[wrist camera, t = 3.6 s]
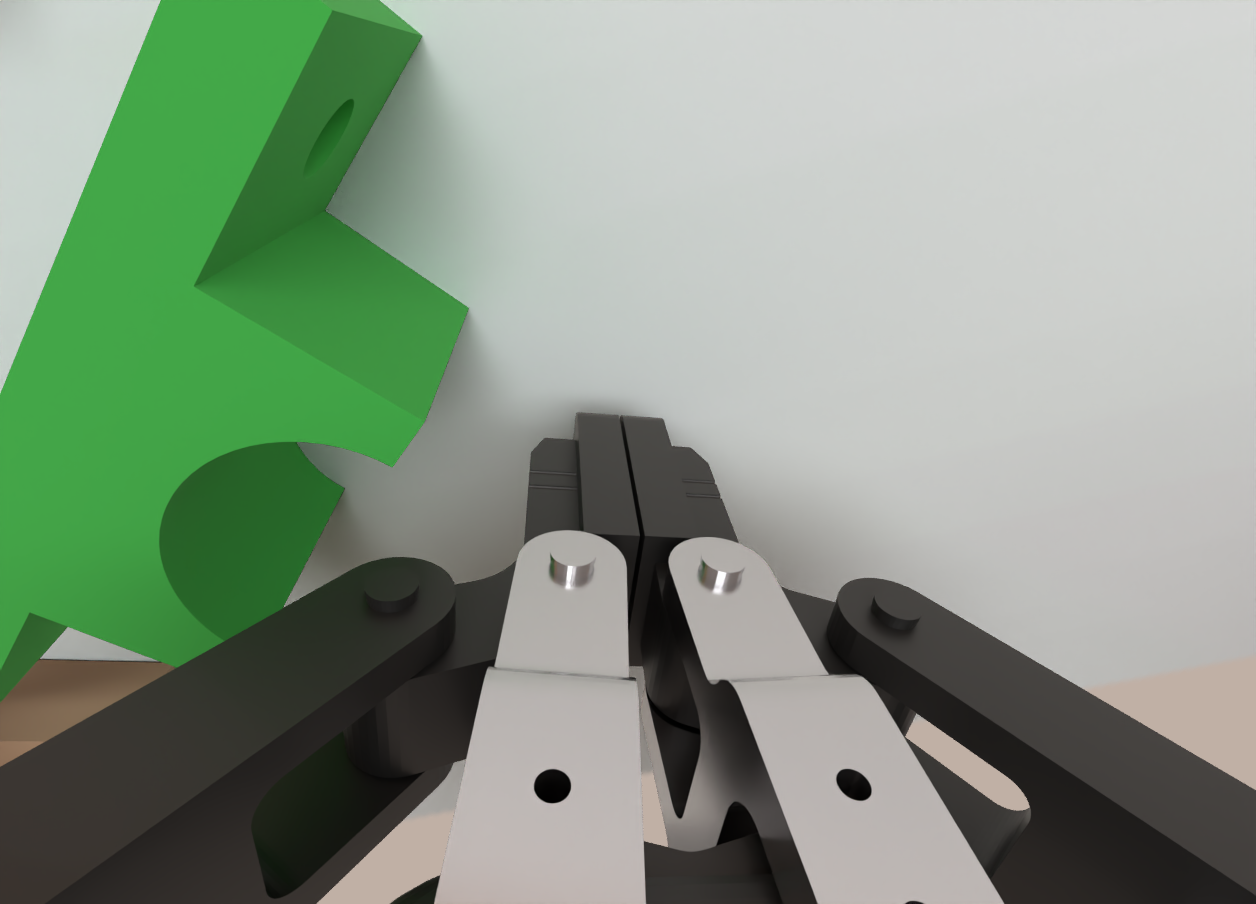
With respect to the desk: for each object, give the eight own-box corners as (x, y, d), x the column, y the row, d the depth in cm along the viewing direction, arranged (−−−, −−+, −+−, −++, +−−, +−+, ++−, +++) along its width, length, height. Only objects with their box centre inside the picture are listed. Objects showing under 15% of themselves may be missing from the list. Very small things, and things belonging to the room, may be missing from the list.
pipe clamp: (267, 601, 14) (152, 804, 10) (79, 520, 13) (-136, 718, 9) (574, 154, 10) (579, 207, 7) (352, -29, 9) (188, -103, 5)
